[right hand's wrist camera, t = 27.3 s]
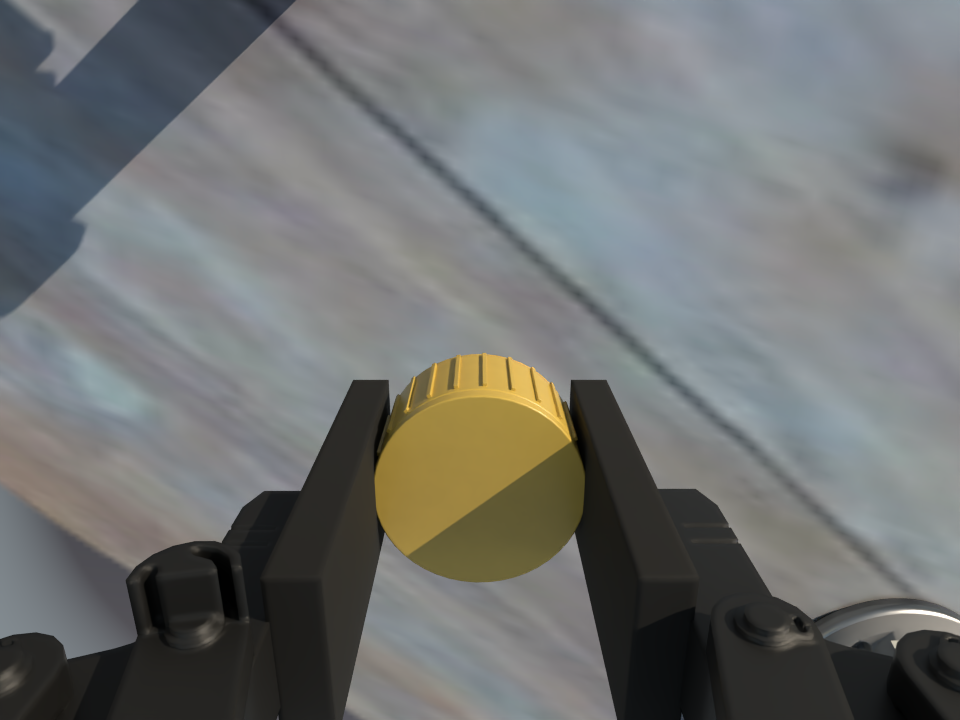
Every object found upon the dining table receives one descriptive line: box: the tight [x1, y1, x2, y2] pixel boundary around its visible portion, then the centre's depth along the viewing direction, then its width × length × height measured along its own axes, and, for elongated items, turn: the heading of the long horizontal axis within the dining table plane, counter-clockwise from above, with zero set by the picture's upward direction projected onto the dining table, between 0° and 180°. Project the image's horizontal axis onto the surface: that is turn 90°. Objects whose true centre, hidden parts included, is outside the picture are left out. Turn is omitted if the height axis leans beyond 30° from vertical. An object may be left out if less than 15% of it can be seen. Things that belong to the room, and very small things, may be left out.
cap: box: [374, 353, 585, 582], centre depth 14 cm, size 4×4×2 cm
